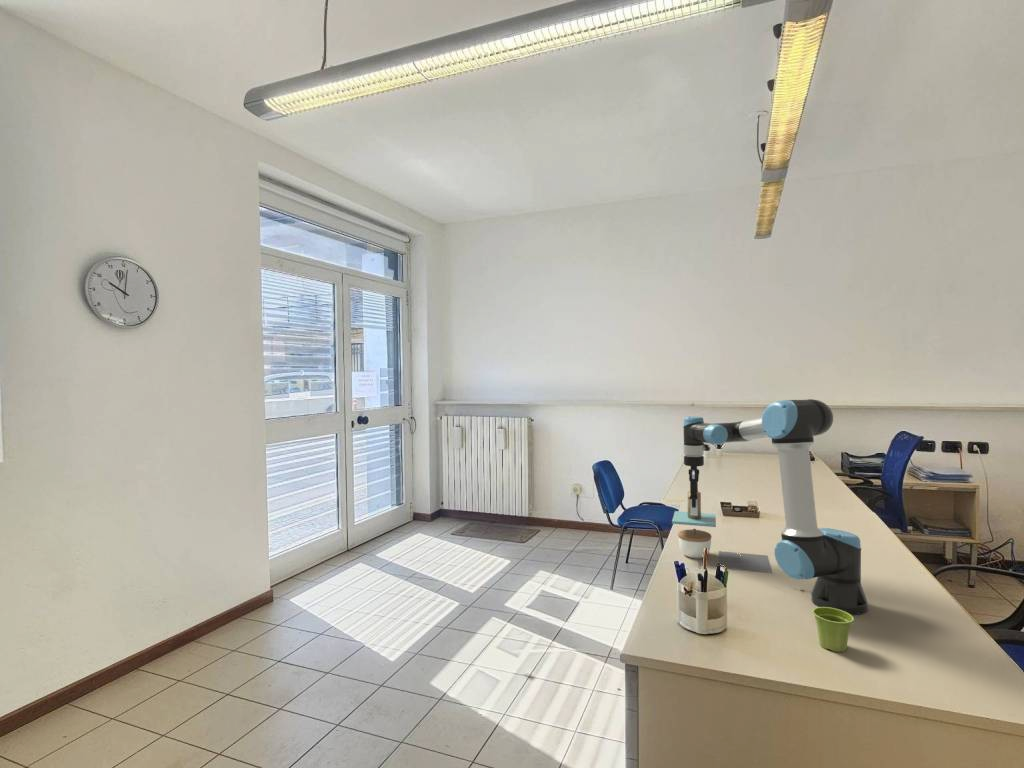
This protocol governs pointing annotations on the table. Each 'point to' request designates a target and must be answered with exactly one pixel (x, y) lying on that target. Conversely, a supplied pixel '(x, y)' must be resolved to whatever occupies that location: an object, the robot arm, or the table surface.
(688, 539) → the lidded bowl
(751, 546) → the table surface
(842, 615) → the plant pot
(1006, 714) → the table surface
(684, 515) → the cover board
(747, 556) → the mat
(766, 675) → the table surface
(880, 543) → the table surface
